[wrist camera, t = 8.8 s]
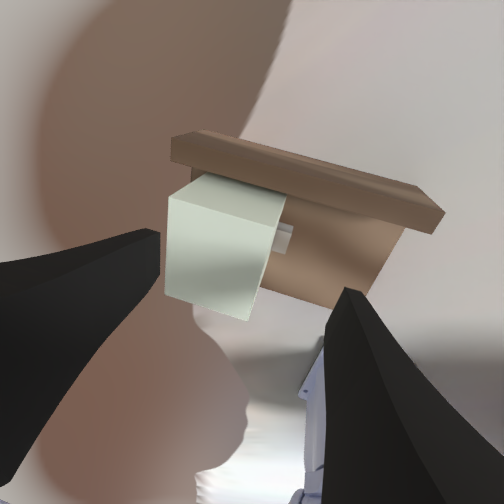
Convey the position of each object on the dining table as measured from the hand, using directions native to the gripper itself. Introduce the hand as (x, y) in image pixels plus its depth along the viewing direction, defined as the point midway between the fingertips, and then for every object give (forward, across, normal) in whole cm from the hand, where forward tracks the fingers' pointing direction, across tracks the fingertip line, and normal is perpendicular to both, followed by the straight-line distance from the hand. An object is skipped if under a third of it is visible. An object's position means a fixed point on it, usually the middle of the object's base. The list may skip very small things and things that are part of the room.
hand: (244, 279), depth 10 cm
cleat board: (+10, -1, +2) cm, 10 cm away
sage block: (+9, +2, +2) cm, 9 cm away
